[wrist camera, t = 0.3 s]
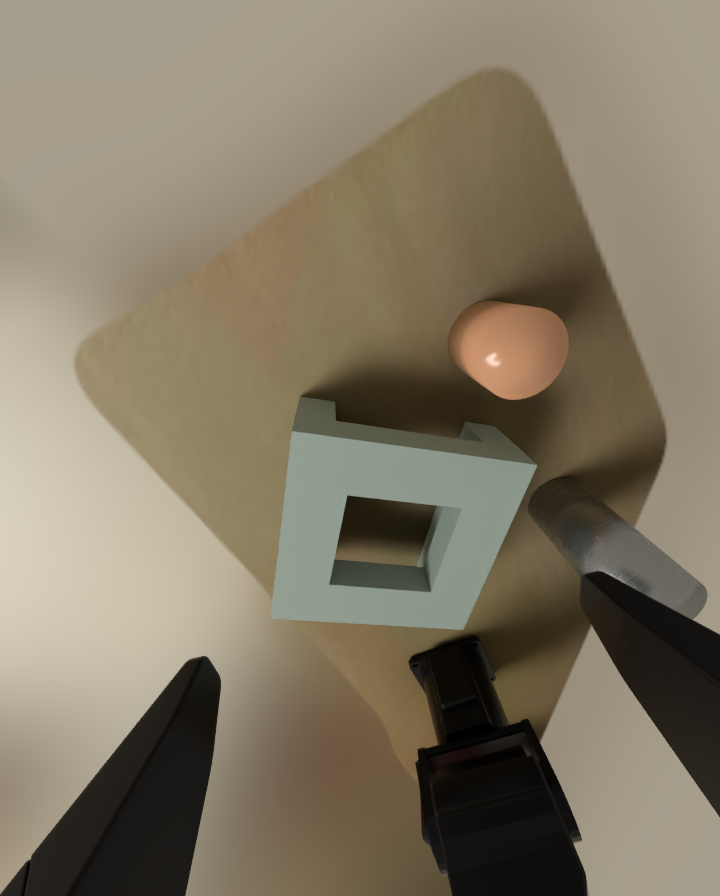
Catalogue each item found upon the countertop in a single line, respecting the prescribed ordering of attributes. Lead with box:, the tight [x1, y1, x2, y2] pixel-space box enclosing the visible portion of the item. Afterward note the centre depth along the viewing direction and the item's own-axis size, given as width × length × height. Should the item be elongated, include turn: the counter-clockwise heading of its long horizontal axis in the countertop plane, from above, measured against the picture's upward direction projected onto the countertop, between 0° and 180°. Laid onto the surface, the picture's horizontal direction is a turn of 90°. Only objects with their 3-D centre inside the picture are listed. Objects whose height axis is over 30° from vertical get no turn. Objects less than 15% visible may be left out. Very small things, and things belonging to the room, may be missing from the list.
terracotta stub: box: [448, 300, 569, 400], centre depth 18 cm, size 4×4×4 cm
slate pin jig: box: [271, 396, 537, 630], centre depth 21 cm, size 12×12×5 cm
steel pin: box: [528, 477, 707, 620], centre depth 21 cm, size 4×4×9 cm
